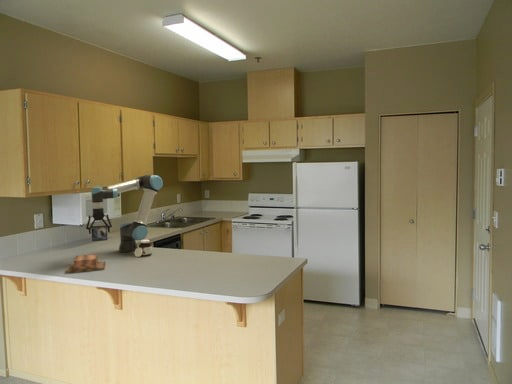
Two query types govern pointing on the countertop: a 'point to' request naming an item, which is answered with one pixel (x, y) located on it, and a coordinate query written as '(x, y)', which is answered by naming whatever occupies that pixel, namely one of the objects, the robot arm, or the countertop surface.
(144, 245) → the spread jar
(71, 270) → the tower base
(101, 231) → the small box
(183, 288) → the countertop surface
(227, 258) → the countertop surface
